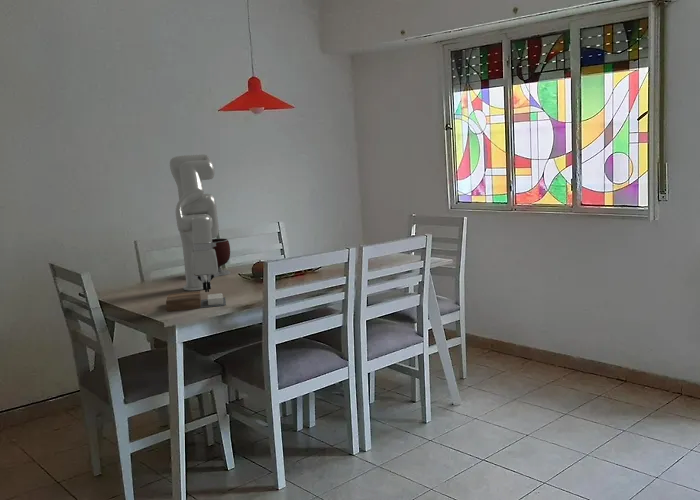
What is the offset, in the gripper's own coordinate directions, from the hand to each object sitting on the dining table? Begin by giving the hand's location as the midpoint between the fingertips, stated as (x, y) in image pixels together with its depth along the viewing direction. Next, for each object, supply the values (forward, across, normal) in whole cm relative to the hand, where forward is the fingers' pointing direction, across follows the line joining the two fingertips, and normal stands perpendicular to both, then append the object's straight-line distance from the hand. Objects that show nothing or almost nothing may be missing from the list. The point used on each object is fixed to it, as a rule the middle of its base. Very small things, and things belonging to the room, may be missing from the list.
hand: (207, 291), depth 279 cm
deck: (+5, +10, 0) cm, 11 cm away
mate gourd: (+5, -4, -66) cm, 67 cm away
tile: (+2, -3, 0) cm, 4 cm away
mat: (+5, -2, 0) cm, 5 cm away
